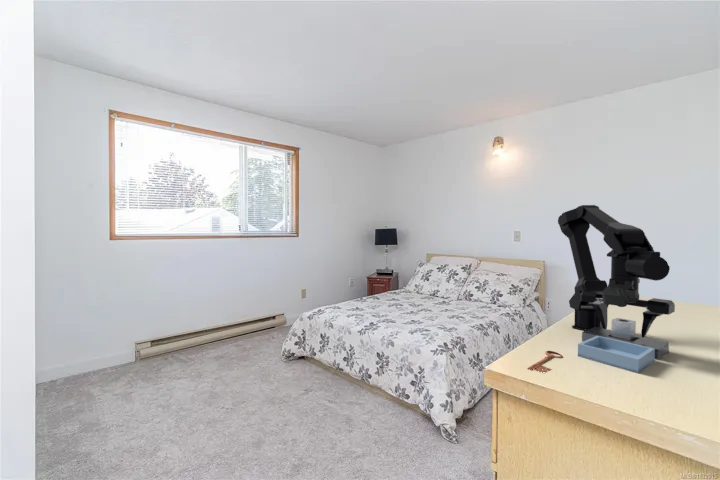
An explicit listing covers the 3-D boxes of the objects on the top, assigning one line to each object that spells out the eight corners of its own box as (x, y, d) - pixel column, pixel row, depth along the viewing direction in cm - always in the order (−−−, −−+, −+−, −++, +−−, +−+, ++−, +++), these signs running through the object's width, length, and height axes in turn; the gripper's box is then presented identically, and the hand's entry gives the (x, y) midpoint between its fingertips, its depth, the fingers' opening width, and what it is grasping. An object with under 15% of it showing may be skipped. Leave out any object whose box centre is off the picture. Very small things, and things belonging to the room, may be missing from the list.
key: (547, 379, 68) (573, 361, 77) (548, 374, 68) (574, 357, 77) (520, 367, 72) (547, 351, 82) (520, 363, 72) (548, 348, 82)
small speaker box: (611, 345, 86) (611, 319, 86) (616, 342, 88) (617, 317, 88) (629, 350, 83) (630, 323, 83) (635, 347, 85) (635, 320, 85)
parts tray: (577, 356, 79) (578, 343, 79) (597, 346, 85) (597, 335, 85) (638, 373, 69) (638, 359, 69) (654, 361, 76) (654, 348, 76)
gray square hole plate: (581, 340, 90) (582, 332, 90) (595, 335, 95) (595, 326, 95) (657, 359, 76) (658, 349, 76) (668, 351, 81) (668, 342, 81)
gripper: (572, 273, 88) (571, 329, 89) (662, 282, 73) (661, 349, 73) (589, 270, 95) (588, 322, 95) (676, 278, 79) (674, 340, 79)
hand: (623, 333), depth 85 cm, fingers open, 8 cm apart
